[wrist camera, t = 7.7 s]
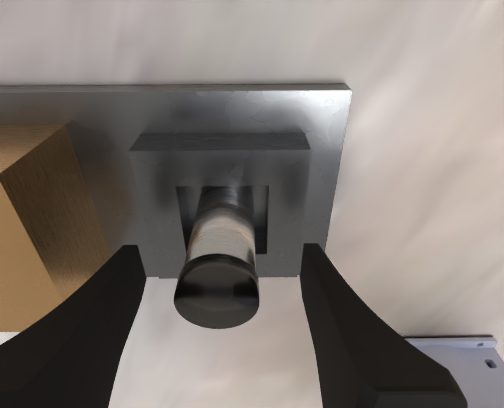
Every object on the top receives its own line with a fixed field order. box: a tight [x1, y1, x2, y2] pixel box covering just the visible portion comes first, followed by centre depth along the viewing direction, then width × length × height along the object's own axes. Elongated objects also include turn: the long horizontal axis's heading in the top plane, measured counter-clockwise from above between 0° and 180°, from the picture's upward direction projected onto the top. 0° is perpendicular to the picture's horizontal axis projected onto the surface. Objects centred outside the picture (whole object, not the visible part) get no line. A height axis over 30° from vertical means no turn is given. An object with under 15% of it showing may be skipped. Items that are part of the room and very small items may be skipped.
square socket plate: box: [0, 84, 352, 332], centre depth 16 cm, size 20×12×6 cm, turn 90°
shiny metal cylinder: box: [174, 186, 259, 329], centre depth 15 cm, size 3×3×7 cm
